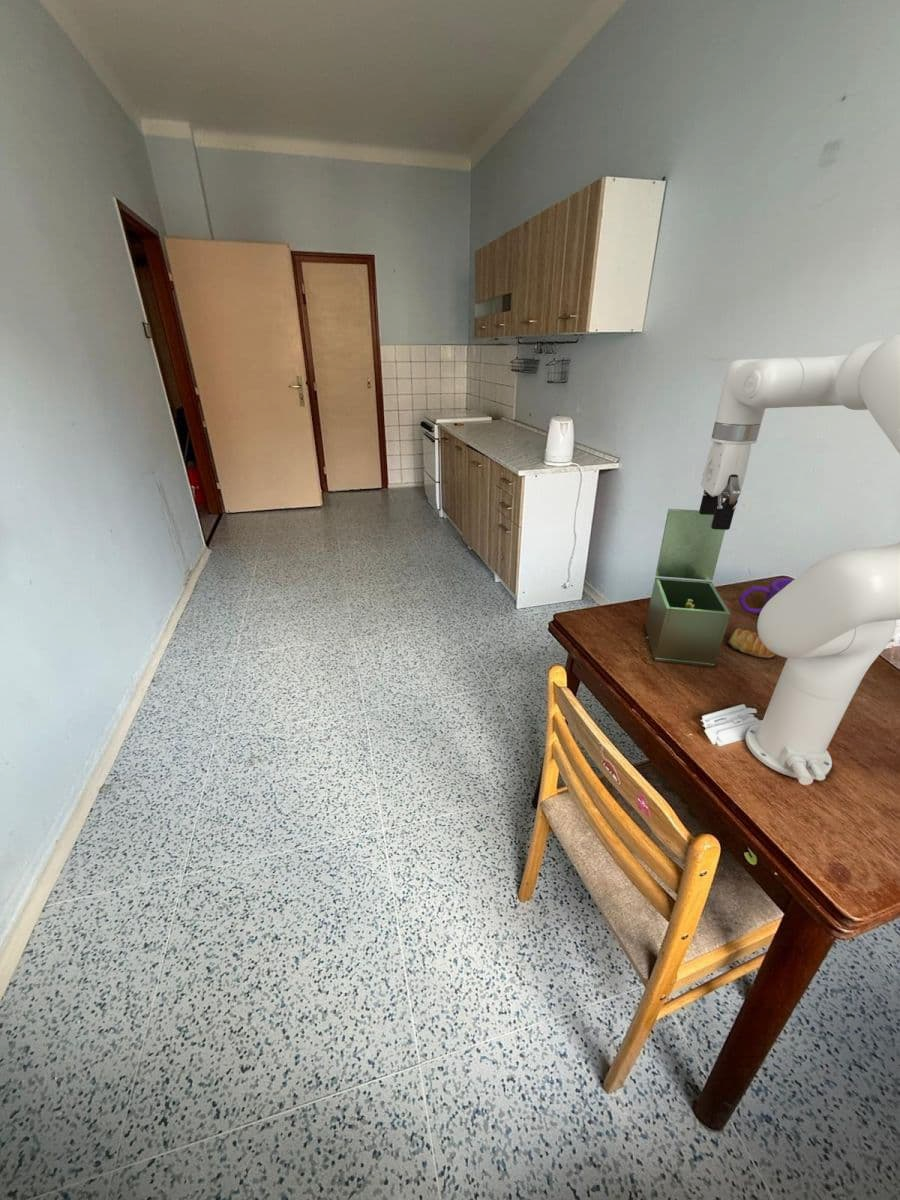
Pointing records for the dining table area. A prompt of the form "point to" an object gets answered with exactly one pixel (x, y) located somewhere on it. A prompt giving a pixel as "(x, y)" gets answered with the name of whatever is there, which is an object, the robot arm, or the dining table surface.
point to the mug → (771, 591)
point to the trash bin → (686, 622)
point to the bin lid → (689, 546)
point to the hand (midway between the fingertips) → (713, 521)
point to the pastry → (749, 643)
